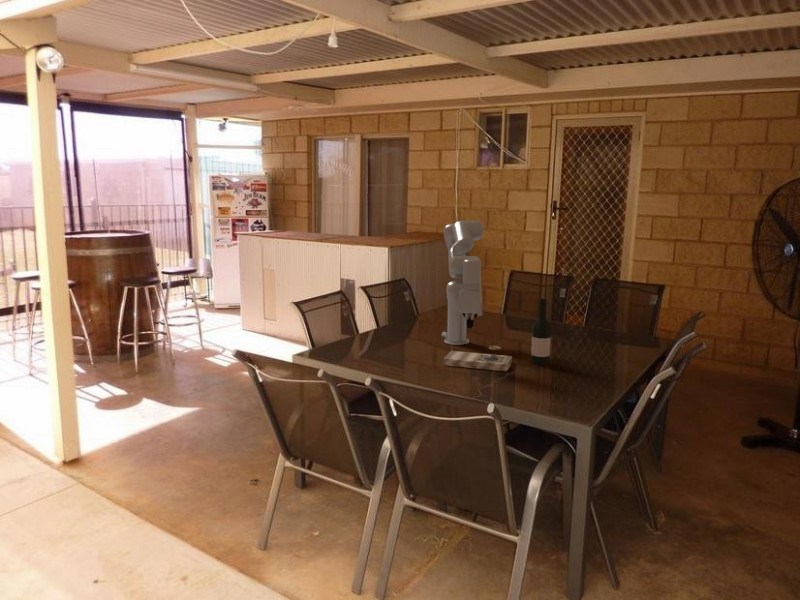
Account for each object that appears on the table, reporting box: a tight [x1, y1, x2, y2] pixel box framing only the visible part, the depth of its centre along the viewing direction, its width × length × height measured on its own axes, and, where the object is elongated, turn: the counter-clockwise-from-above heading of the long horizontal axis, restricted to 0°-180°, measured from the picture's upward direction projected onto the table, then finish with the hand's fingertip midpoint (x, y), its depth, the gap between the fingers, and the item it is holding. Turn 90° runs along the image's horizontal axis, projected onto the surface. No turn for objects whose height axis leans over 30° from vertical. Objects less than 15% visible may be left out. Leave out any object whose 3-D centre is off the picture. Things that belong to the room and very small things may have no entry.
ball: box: [486, 353, 498, 361], centre depth 268 cm, size 5×5×5 cm
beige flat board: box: [443, 350, 513, 372], centre depth 270 cm, size 28×14×3 cm, turn 71°
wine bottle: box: [530, 296, 552, 367], centre depth 269 cm, size 8×8×30 cm
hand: (469, 327), depth 270 cm, fingers closed
